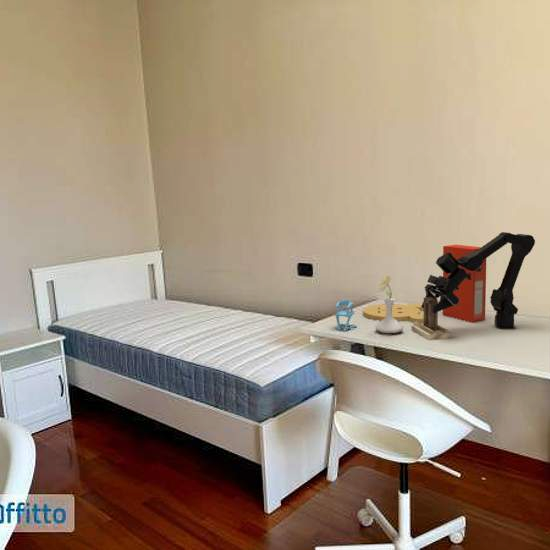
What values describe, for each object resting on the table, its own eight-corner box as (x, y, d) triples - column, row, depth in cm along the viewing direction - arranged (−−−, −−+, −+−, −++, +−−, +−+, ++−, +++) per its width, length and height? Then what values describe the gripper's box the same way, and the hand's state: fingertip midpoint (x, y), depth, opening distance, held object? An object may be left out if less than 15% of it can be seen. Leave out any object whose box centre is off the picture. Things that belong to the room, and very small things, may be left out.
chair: (332, 330, 224) (332, 303, 221) (339, 325, 231) (339, 298, 229) (350, 332, 220) (349, 304, 218) (356, 327, 227) (356, 300, 225)
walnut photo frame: (430, 327, 216) (430, 297, 213) (437, 330, 210) (437, 300, 208) (423, 327, 215) (423, 297, 213) (430, 331, 209) (430, 300, 207)
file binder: (471, 323, 227) (473, 249, 221) (442, 315, 242) (443, 245, 237) (485, 320, 230) (487, 247, 225) (455, 312, 245) (456, 244, 240)
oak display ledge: (431, 328, 221) (431, 320, 220) (450, 337, 206) (450, 329, 206) (411, 330, 219) (411, 322, 219) (428, 340, 205) (428, 331, 204)
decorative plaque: (361, 323, 234) (431, 324, 228) (361, 318, 233) (431, 319, 227) (364, 307, 264) (426, 308, 258) (364, 302, 263) (426, 303, 257)
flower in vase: (376, 327, 225) (376, 269, 221) (403, 328, 222) (404, 270, 218) (373, 336, 213) (373, 275, 209) (402, 337, 210) (402, 275, 206)
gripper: (429, 264, 218) (404, 292, 218) (452, 271, 200) (425, 302, 200) (446, 282, 221) (421, 309, 221) (471, 290, 203) (444, 320, 203)
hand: (427, 310), depth 211 cm, fingers open, 9 cm apart
